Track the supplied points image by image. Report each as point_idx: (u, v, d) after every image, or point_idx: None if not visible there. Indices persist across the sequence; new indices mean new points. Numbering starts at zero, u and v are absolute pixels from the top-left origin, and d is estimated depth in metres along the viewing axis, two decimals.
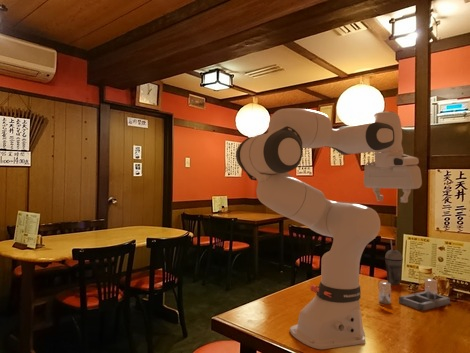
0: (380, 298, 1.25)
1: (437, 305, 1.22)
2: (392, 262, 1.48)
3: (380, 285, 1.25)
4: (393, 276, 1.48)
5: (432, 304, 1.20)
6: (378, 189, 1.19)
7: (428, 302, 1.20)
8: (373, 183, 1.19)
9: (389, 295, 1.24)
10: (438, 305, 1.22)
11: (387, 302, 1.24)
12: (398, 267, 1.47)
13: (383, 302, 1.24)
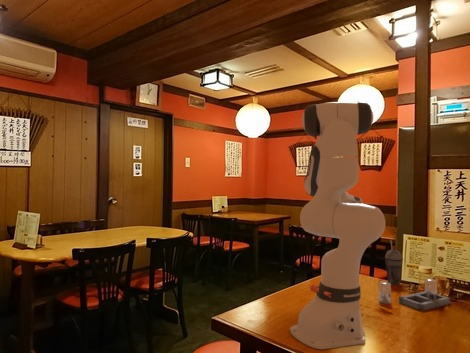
0: (380, 298, 1.25)
1: (437, 305, 1.22)
2: (392, 262, 1.48)
3: (380, 285, 1.25)
4: (393, 276, 1.48)
5: (432, 304, 1.20)
6: None
7: (428, 302, 1.20)
8: None
9: (389, 295, 1.24)
10: (438, 305, 1.22)
11: (387, 302, 1.24)
12: (398, 267, 1.47)
13: (383, 302, 1.24)
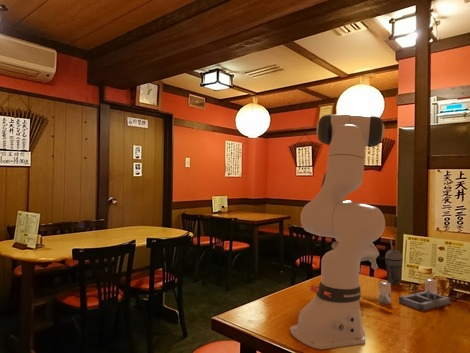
0: (380, 298, 1.25)
1: (437, 305, 1.22)
2: (392, 262, 1.48)
3: (380, 285, 1.25)
4: (393, 276, 1.48)
5: (432, 304, 1.20)
6: None
7: (428, 302, 1.20)
8: None
9: (389, 295, 1.24)
10: (438, 305, 1.22)
11: (387, 302, 1.24)
12: (398, 267, 1.47)
13: (383, 302, 1.24)
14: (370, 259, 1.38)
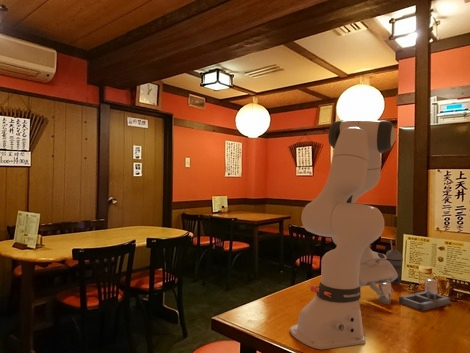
0: (380, 297, 1.25)
1: (437, 305, 1.22)
2: (392, 262, 1.48)
3: (380, 285, 1.25)
4: None
5: (432, 304, 1.20)
6: None
7: (428, 302, 1.20)
8: (368, 277, 1.26)
9: (389, 295, 1.24)
10: (438, 305, 1.22)
11: (387, 302, 1.24)
12: (398, 267, 1.47)
13: (383, 302, 1.24)
14: None
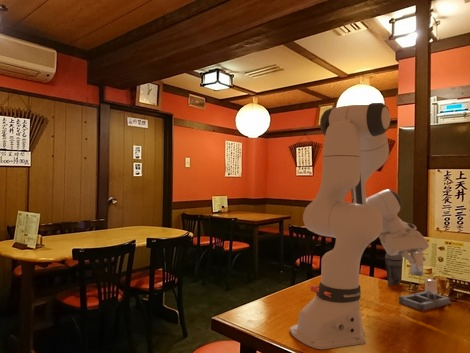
0: (412, 267, 1.23)
1: (437, 305, 1.22)
2: (392, 262, 1.48)
3: (412, 254, 1.24)
4: (393, 276, 1.48)
5: (432, 304, 1.20)
6: None
7: (428, 302, 1.20)
8: (400, 245, 1.24)
9: (422, 264, 1.22)
10: (438, 305, 1.22)
11: (420, 271, 1.22)
12: (398, 267, 1.47)
13: (416, 271, 1.22)
14: None
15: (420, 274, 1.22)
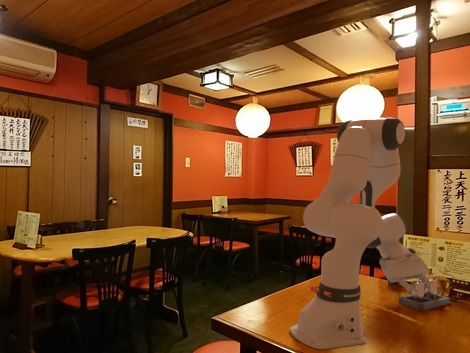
0: (413, 297, 1.23)
1: (437, 305, 1.22)
2: None
3: (413, 284, 1.23)
4: None
5: (432, 304, 1.20)
6: None
7: (428, 302, 1.20)
8: (401, 272, 1.24)
9: (423, 295, 1.22)
10: (438, 305, 1.22)
11: (420, 302, 1.22)
12: None
13: None
14: (420, 277, 1.28)
15: None
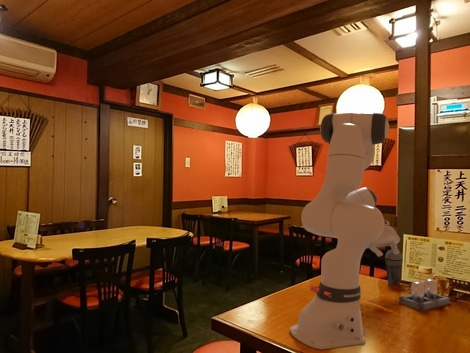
0: (413, 297, 1.23)
1: (437, 305, 1.22)
2: (392, 262, 1.48)
3: (413, 284, 1.23)
4: (393, 276, 1.48)
5: (432, 304, 1.20)
6: None
7: (428, 302, 1.20)
8: None
9: (423, 295, 1.22)
10: (438, 305, 1.22)
11: (421, 302, 1.22)
12: (398, 267, 1.47)
13: None
14: (391, 244, 1.40)
15: None
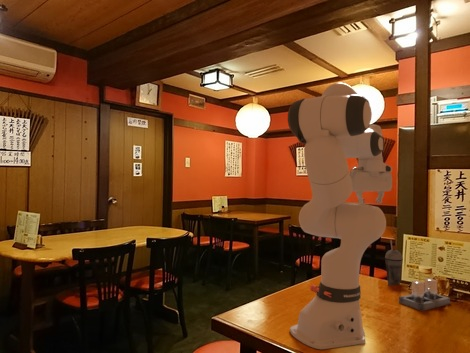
0: (414, 297, 1.23)
1: (437, 305, 1.22)
2: (392, 262, 1.48)
3: (413, 284, 1.23)
4: (393, 276, 1.48)
5: (432, 304, 1.20)
6: None
7: (428, 302, 1.20)
8: (363, 186, 1.27)
9: (423, 294, 1.22)
10: (438, 305, 1.22)
11: (421, 301, 1.22)
12: (398, 267, 1.47)
13: (417, 301, 1.22)
14: (379, 192, 1.34)
15: None
